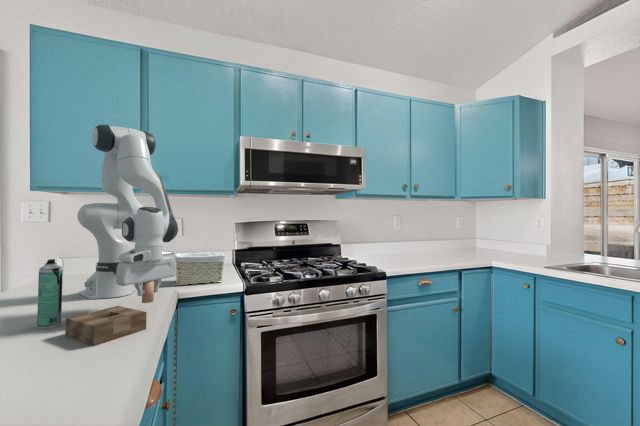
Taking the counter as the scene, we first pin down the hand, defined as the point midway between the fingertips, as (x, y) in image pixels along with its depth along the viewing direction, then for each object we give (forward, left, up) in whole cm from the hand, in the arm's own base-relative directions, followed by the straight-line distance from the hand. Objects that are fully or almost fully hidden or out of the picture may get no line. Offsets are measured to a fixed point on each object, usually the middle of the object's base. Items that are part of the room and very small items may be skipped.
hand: (147, 293), depth 108 cm
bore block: (+8, -17, -7) cm, 20 cm away
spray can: (-13, -22, -7) cm, 27 cm away
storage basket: (-27, +47, -7) cm, 55 cm away
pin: (0, 0, -3) cm, 3 cm away
